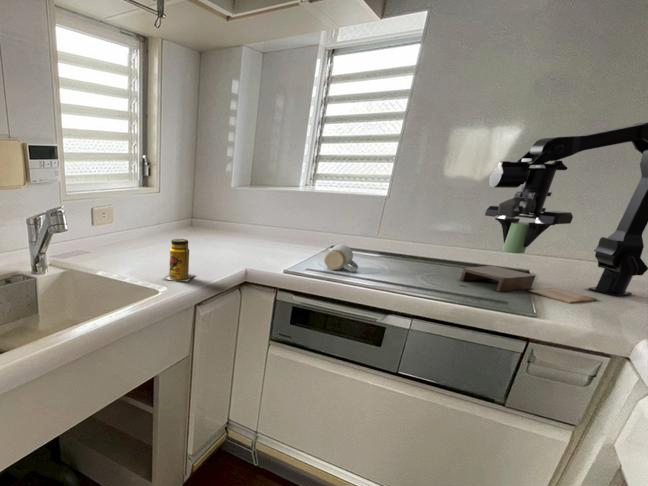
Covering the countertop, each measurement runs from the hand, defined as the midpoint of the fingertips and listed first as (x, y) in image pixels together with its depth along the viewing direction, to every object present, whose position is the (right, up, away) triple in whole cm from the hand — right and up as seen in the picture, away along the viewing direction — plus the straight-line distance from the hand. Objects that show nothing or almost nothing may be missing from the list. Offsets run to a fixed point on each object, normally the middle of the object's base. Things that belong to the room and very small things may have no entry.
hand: (515, 245), depth 115 cm
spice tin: (0, -2, +1) cm, 2 cm away
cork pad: (+9, -15, -4) cm, 18 cm away
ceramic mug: (-40, -4, +22) cm, 46 cm away
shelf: (-1, -11, +6) cm, 12 cm away
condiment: (-96, -8, +12) cm, 97 cm away
